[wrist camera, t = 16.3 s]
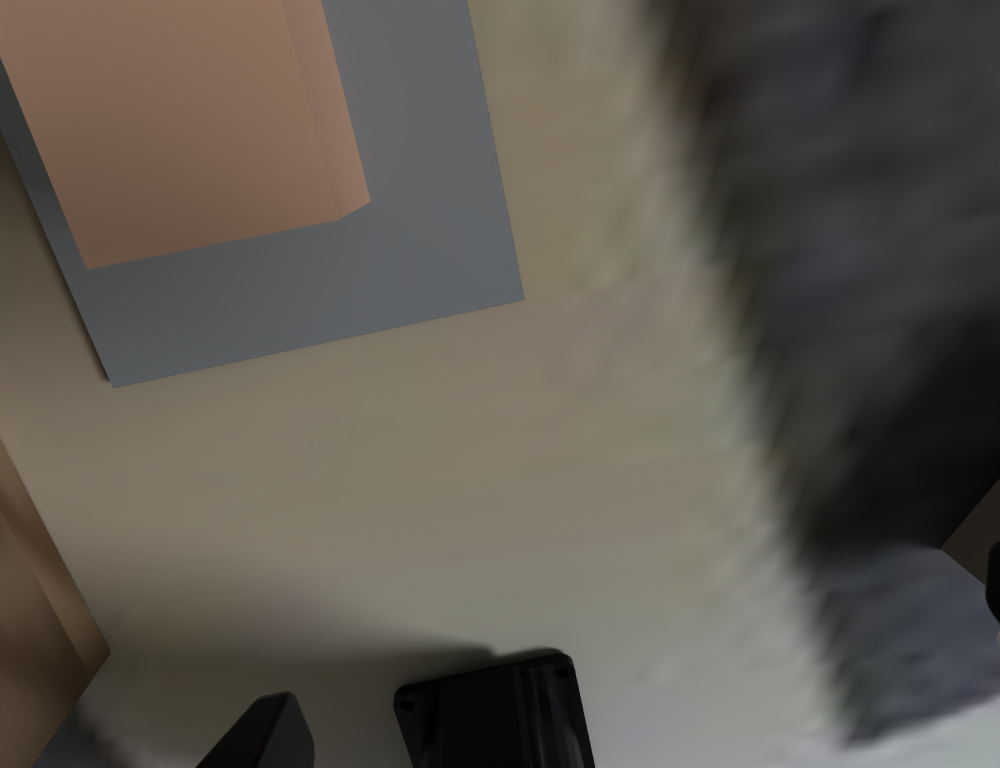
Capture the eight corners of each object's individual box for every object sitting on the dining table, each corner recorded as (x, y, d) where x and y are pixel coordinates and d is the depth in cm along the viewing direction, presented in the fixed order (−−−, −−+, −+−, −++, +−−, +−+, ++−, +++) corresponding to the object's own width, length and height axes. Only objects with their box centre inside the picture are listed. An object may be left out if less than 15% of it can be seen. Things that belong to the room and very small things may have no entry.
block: (370, 201, 17) (339, 220, 13) (186, 237, 17) (86, 269, 13) (318, -11, 16) (259, -81, 11) (114, 30, 16) (-32, -22, 11)
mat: (523, 296, 19) (524, 299, 19) (119, 383, 19) (112, 388, 19) (424, -214, 15) (423, -223, 14) (-89, -100, 15) (-103, -106, 15)
